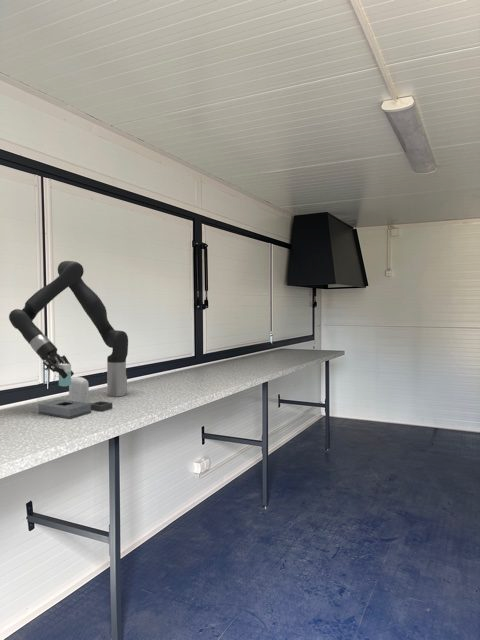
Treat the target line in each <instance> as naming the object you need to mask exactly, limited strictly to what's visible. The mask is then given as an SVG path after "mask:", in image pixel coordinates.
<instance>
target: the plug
mask: <svg viewBox="0 0 480 640" xmlns="http://www.w3.org/2000/svg"><path fill="white" fill-rule="evenodd" d="M60 366H61V368H62V369H63V370H64V371H65V372H66V373H67V375H68V376H67V377H66V378H63V377H62V376H61V375H60V374H59V373H58V386H60V387H69V386H70V385H71V378H72V376H71V370H72V364H71V363H70V364H67V363H66V364H62V363H61V364H60Z"/></svg>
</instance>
